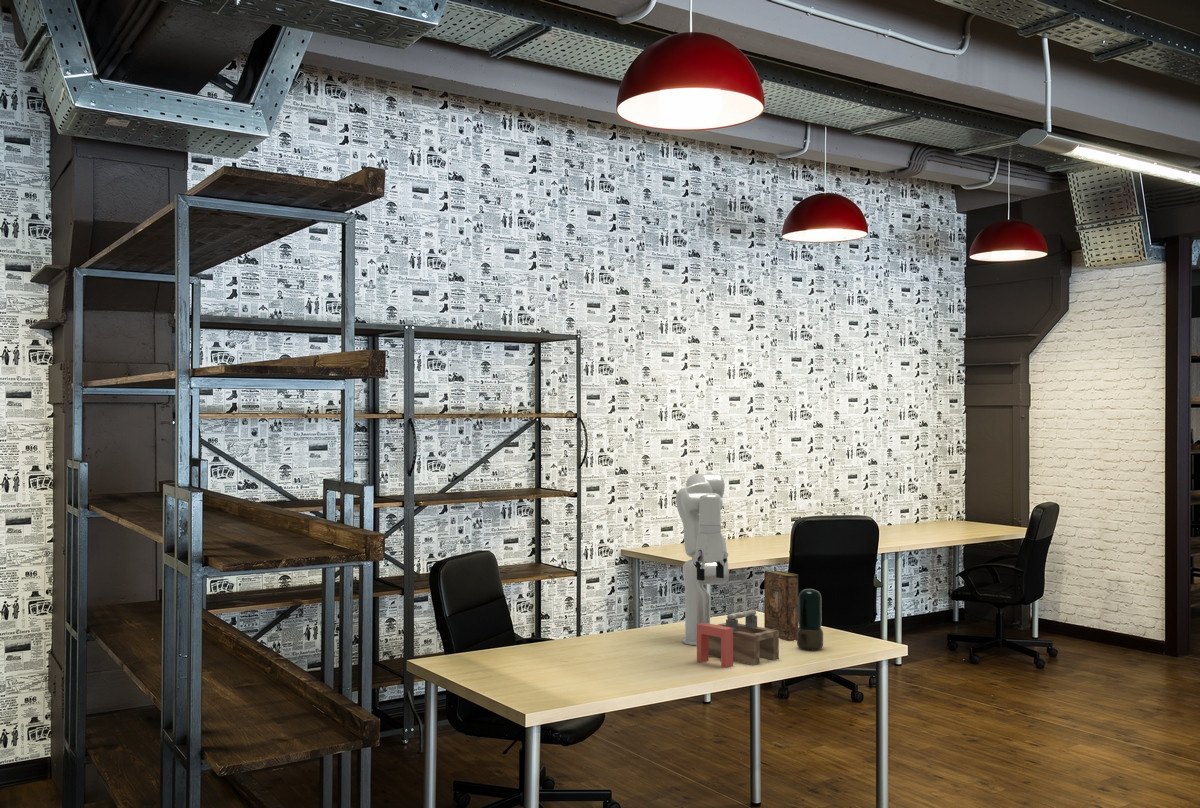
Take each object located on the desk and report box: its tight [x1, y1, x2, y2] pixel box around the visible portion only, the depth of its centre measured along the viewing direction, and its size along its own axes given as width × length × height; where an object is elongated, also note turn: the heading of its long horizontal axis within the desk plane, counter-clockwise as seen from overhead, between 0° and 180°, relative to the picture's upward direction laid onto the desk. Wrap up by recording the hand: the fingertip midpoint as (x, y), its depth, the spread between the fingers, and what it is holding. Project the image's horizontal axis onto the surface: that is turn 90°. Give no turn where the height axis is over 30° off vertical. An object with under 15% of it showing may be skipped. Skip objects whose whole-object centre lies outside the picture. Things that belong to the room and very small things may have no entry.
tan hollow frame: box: [709, 609, 780, 666], centre depth 357 cm, size 14×22×16 cm, turn 43°
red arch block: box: [696, 623, 734, 669], centre depth 347 cm, size 4×13×13 cm, turn 43°
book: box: [763, 569, 799, 642], centre depth 392 cm, size 16×6×25 cm, turn 25°
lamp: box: [796, 588, 824, 651], centre depth 371 cm, size 10×10×22 cm
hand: (710, 579), depth 348 cm, fingers open, 9 cm apart
